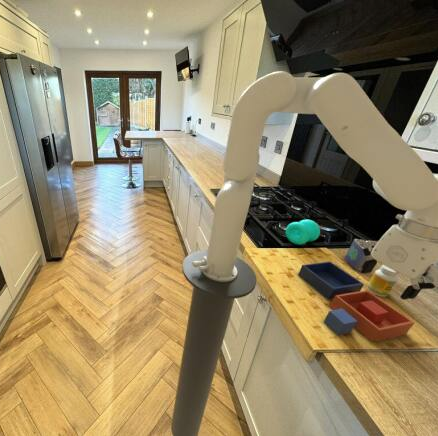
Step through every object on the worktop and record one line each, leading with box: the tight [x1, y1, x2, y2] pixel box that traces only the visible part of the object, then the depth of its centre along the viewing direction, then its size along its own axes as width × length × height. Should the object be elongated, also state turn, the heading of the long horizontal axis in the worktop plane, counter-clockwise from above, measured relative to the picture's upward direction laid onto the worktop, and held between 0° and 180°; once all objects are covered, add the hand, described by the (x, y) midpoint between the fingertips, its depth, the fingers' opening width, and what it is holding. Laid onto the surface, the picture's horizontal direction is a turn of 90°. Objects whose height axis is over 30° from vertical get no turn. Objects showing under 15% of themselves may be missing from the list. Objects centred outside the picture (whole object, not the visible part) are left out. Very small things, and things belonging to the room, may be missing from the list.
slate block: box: [323, 309, 358, 336], centre depth 64 cm, size 4×4×4 cm
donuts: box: [285, 219, 321, 246], centre depth 104 cm, size 10×10×10 cm
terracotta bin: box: [329, 289, 416, 343], centre depth 67 cm, size 12×12×4 cm
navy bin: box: [298, 260, 365, 301], centre depth 80 cm, size 12×12×4 cm
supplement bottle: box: [366, 264, 399, 297], centre depth 76 cm, size 5×5×10 cm
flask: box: [343, 238, 366, 272], centre depth 90 cm, size 9×3×11 cm, turn 164°
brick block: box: [356, 300, 388, 324], centre depth 66 cm, size 4×4×4 cm
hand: (384, 284), depth 62 cm, fingers open, 9 cm apart
